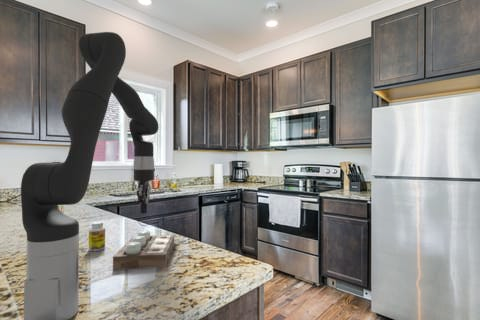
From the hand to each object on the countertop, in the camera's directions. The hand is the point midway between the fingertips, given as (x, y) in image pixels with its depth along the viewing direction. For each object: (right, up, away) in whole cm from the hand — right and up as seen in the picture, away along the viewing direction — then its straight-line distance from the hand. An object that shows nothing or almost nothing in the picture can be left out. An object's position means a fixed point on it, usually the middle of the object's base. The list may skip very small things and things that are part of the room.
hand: (144, 213), depth 101 cm
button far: (0, -11, 0) cm, 11 cm away
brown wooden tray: (+4, -14, -7) cm, 16 cm away
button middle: (+1, -11, -8) cm, 14 cm away
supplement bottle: (-18, -14, 0) cm, 23 cm away
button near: (+2, -11, -15) cm, 19 cm away
